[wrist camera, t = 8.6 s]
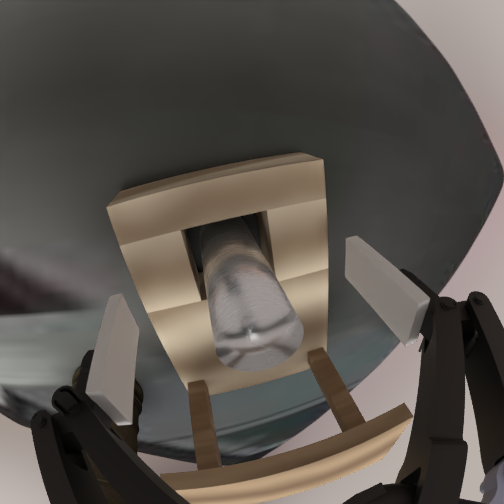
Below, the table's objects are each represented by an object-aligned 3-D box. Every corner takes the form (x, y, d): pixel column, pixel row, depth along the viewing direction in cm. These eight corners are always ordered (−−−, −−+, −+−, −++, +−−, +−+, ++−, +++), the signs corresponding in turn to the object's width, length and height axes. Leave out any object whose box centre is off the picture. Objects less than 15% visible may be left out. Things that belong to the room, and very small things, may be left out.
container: (69, 356, 24) (41, 505, 9) (145, 372, 27) (149, 528, 12) (78, 398, 28) (65, 519, 12) (141, 411, 31) (148, 534, 15)
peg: (194, 218, 21) (205, 321, 11) (244, 207, 22) (302, 296, 11) (205, 263, 23) (225, 379, 13) (252, 252, 24) (304, 358, 13)
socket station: (114, 193, 19) (0, 354, 5) (306, 151, 21) (489, 229, 7) (186, 373, 29) (205, 511, 14) (315, 339, 30) (382, 458, 16)
